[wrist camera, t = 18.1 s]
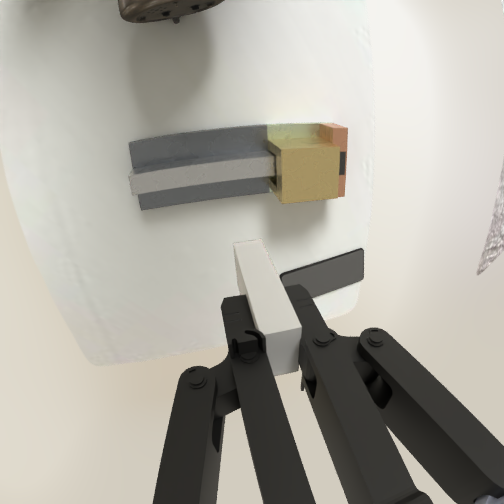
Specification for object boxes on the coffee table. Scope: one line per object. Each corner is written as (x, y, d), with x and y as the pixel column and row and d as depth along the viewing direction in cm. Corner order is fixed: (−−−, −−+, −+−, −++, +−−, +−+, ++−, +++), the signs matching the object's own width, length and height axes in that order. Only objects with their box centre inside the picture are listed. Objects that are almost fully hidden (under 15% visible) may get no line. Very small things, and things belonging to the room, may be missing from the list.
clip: (269, 187, 39) (282, 204, 34) (267, 139, 36) (281, 149, 31) (318, 182, 40) (337, 198, 35) (319, 137, 37) (340, 146, 32)
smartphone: (364, 279, 52) (286, 307, 51) (361, 277, 53) (284, 303, 52) (364, 248, 49) (279, 275, 48) (361, 245, 49) (278, 272, 48)
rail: (142, 207, 38) (136, 223, 34) (129, 142, 33) (121, 150, 29) (329, 184, 42) (344, 196, 38) (330, 122, 37) (348, 128, 33)
